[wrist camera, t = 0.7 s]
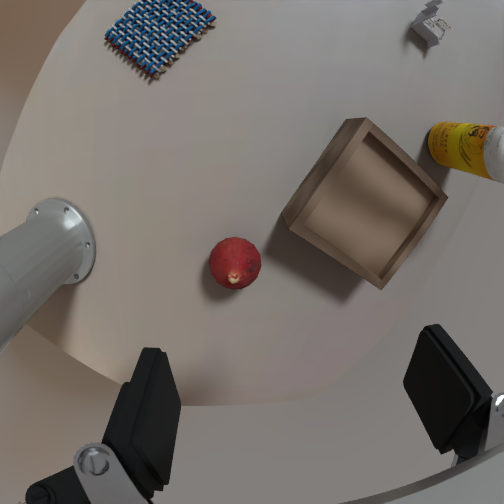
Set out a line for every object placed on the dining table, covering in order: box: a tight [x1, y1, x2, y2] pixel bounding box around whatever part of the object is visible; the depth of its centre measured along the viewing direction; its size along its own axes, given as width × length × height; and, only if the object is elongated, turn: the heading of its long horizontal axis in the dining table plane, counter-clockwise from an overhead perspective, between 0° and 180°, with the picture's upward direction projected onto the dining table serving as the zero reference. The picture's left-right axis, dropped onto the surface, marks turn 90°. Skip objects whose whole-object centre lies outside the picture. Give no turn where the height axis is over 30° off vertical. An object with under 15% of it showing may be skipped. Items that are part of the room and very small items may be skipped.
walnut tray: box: [281, 117, 448, 290], centre depth 33 cm, size 14×14×6 cm
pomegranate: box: [209, 237, 261, 289], centre depth 34 cm, size 6×6×8 cm
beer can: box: [428, 122, 504, 184], centre depth 26 cm, size 6×6×15 cm
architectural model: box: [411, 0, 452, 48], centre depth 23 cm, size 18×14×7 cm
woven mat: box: [104, 0, 216, 79], centre depth 26 cm, size 10×11×2 cm
